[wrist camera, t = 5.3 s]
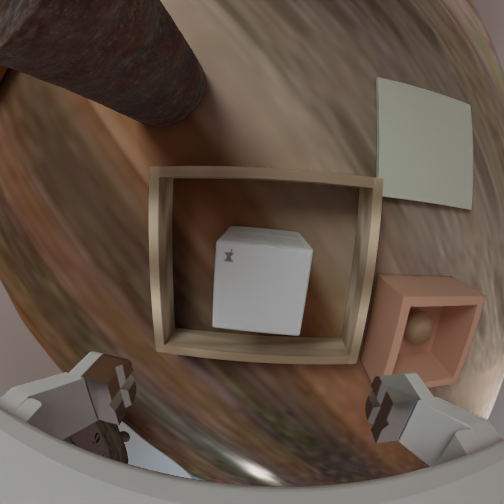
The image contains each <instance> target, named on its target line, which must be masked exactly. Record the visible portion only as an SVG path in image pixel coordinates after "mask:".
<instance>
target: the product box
mask: <svg viewBox="0 0 504 504" xmlns="http://www.w3.org/2000/svg"><path fill="white" fill-rule="evenodd" d="M313 253H314V250H313V249H312V248H311V246H310V245H309V244H308V243H307V242H306V240H305V239H304V238H303V237H302V235H301V234H300V233H299V232H294V231H286V230H277V229H267V228H255V227H242V226H230V227H229V229H228V230H227V231H226V232H225V233H224V234H223V235H222V236H221V237H220V238H219V239H218V240H217V242H216V255H215V272H214V292H213V320H212V326H213V327H216V328H224V329H233V330H241V331H250V332H260V333H270V334H282V335H295V336H299V335H300V330H301V325H302V319H303V314H304V308H305V302H306V296H307V290H308V284H309V278H310V271H311V264H312V258H313Z"/></svg>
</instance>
